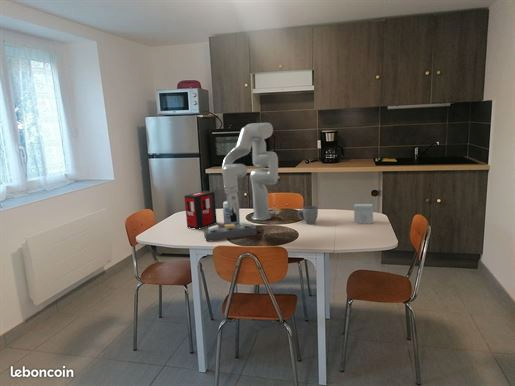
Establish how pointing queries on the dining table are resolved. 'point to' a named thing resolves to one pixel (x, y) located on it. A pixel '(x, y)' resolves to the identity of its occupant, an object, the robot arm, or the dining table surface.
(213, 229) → the rocker
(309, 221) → the mug
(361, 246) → the dining table surface
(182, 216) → the dining table surface
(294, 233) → the dining table surface
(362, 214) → the skincare box
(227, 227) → the rocker middle
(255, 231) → the power strip
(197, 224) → the cleaning product box
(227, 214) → the supplement tub
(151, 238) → the dining table surface
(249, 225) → the rocker
